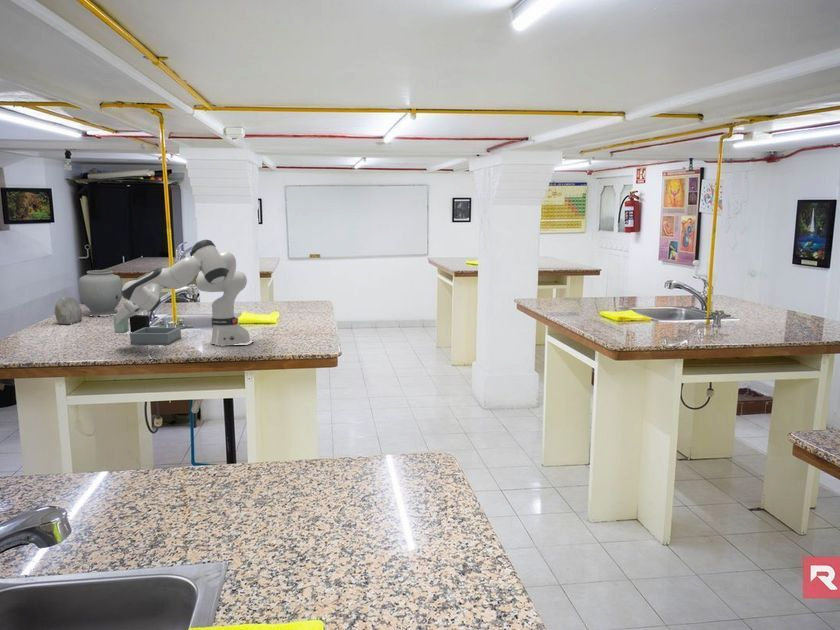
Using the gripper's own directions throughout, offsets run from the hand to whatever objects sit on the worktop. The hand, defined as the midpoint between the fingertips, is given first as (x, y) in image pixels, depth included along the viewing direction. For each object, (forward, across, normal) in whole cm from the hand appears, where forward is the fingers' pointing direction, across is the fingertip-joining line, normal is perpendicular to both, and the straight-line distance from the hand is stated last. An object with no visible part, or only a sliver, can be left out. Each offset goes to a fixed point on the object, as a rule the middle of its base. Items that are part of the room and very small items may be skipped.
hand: (119, 321), depth 328 cm
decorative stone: (+58, -74, -37) cm, 102 cm away
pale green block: (+3, 0, +4) cm, 5 cm away
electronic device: (+18, -44, +3) cm, 48 cm away
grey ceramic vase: (+55, -104, -33) cm, 123 cm away
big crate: (+3, -20, +17) cm, 26 cm away
